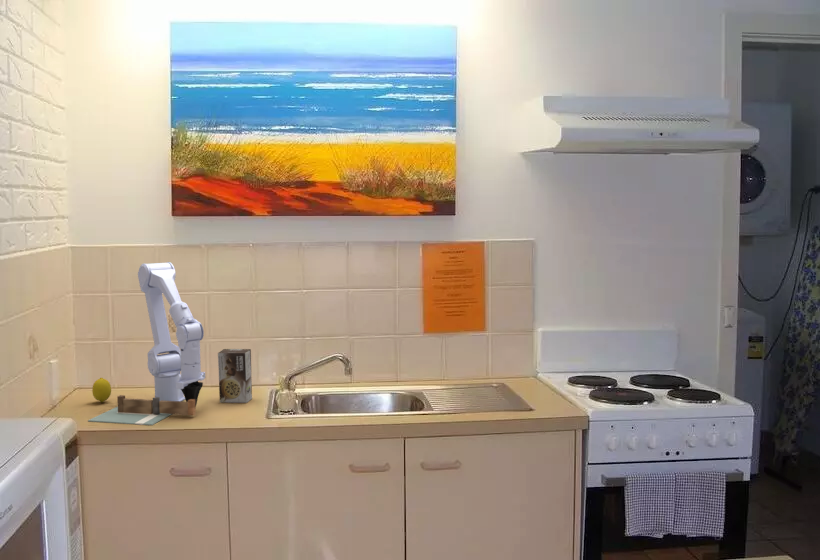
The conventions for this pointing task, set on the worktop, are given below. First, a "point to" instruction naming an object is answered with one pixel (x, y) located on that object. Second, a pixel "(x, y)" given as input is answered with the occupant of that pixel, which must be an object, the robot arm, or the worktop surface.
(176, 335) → the robot arm
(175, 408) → the hinged fence panel
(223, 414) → the worktop surface
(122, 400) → the fixed fence section
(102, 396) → the lemon
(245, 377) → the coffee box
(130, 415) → the card
